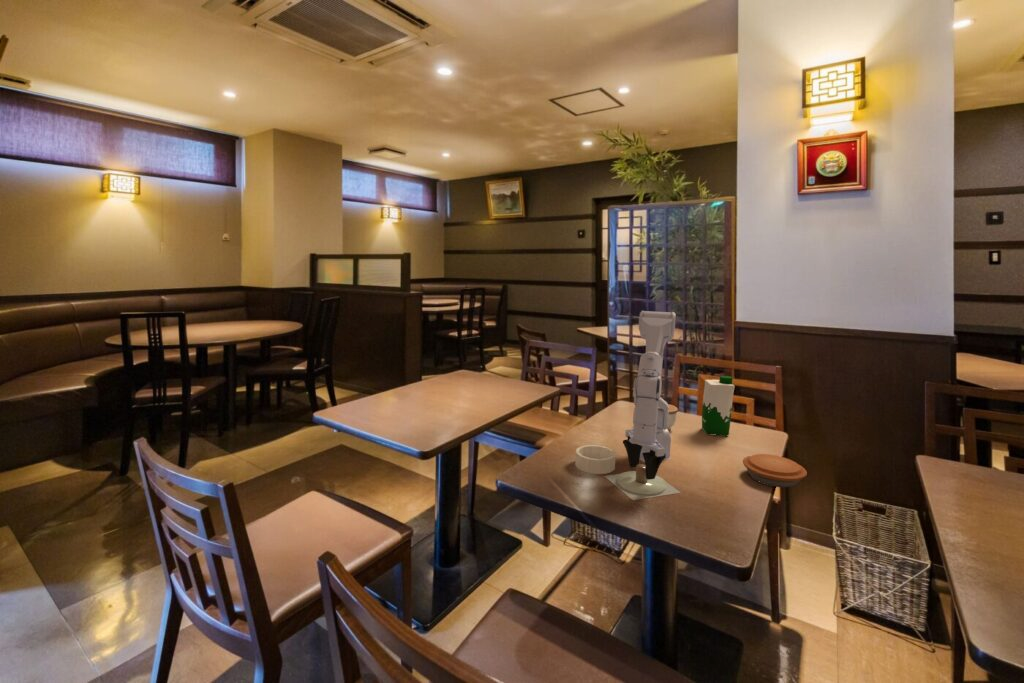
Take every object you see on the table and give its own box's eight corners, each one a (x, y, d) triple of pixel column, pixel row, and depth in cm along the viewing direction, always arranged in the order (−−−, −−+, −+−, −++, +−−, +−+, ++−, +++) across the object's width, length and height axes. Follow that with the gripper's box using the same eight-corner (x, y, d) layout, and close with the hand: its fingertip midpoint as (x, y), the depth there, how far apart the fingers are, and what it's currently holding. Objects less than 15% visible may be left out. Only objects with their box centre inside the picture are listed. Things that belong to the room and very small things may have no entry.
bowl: (602, 457, 144) (603, 443, 143) (622, 472, 133) (623, 457, 133) (569, 461, 140) (569, 447, 140) (586, 477, 130) (587, 462, 129)
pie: (819, 491, 125) (821, 472, 124) (762, 492, 124) (764, 474, 123) (781, 466, 140) (783, 450, 139) (730, 467, 139) (732, 450, 138)
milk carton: (732, 437, 163) (737, 380, 160) (704, 435, 165) (709, 378, 161) (724, 428, 172) (729, 374, 169) (698, 427, 173) (702, 373, 170)
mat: (648, 472, 134) (648, 469, 134) (680, 494, 121) (681, 492, 121) (604, 478, 130) (604, 476, 130) (632, 502, 117) (632, 500, 117)
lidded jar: (678, 434, 165) (680, 408, 164) (645, 431, 167) (647, 405, 166) (674, 424, 176) (675, 399, 174) (643, 422, 178) (645, 397, 176)
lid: (647, 471, 133) (648, 454, 133) (676, 491, 122) (677, 473, 121) (608, 477, 129) (609, 460, 129) (634, 498, 118) (635, 479, 117)
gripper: (616, 415, 128) (614, 463, 130) (648, 432, 115) (644, 486, 117) (639, 413, 131) (636, 460, 133) (673, 430, 117) (669, 482, 119)
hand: (641, 472), depth 125 cm, fingers open, 7 cm apart
